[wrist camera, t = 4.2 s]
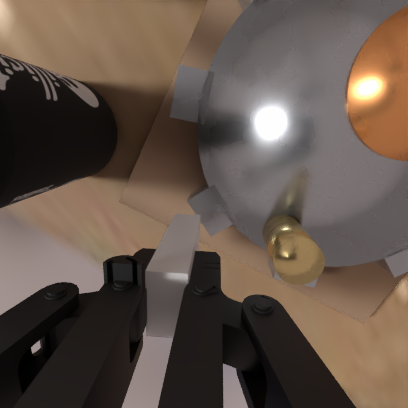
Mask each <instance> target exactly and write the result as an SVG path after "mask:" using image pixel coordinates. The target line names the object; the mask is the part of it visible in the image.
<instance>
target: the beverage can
mask: <svg viewBox="0 0 408 408" xmlns="http://www.w3.org/2000/svg"><path fill="white" fill-rule="evenodd" d="M116 142H117V127H116V122H115V119H114V116H113V113H112V111H111V109H110V107H109V105H108V104H107V102H106V101H105V100H104V98H103V97H102V96H101V95H100V94H99V93H98V92H97V91H96V90H94V89H93V88H92V87H90V86H89V85H87V84H85V83H83V82H81V81H78V80H75V79H72V78H69V77H66V76H63V75H60V74H57V73H55V72H52V71H49V70H46V69H43V68H40V67H37V66H34V65H31V64H28V63H25V62H22V61H19V60H16V59H13V58H11V57H8V56H5V55H2V54H0V208H2V207H5V206H8V205H11V204H13V203H16V202H19V201H22V200H24V199H27V198H30V197H33V196H35V195H38V194H41V193H44V192H46V191H49V190H52V189H55V188H57V187H60V186H63V185H66V184H68V183H71V182H74V181H76V180H79V179H82V178H85V177H87V176H90V175H93V174H95V173H97V172H98V171H100V170H101V169H102V168H103V167H104V166H105V165H106V164H107V163H108V162H109V160H110V159H111V157H112V155H113V153H114V150H115V147H116Z"/></svg>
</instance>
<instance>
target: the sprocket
mask: <svg viewBox="0 0 408 408" xmlns="http://www.w3.org/2000/svg"><path fill="white" fill-rule="evenodd" d="M238 2H239V4H240V6H241V8H242V10H243V12H242V13H241V15H240V16H239V17H238V18H237V20H236V21H235V22H234V24H233V25H232V27H231V28H230V29H229V31H228V32H227V34H226V35H225V37H224V39H223V40H222V42H221V44H220V46H219V48H218V50H217V51H216V53H215V55H214V57H213V60H212V62H211V65H210V67H209V70H208V71H206V70H202V69H198V68H193V67H189V66H185V65H180V64H179V67H178V73H177V79H176V84H175V90H174V96H173V102H172V107H171V113H170V117H172V118H177V119H181V120H185V121H190V122H194V123H198V130H197V139H198V147H199V156H200V160H201V164H202V168H203V172H204V176H205V178H206V181H207V183H206V184H205V185H203V186H202V187H200V188H198V189H197V190H195V191H194V192H192V193H190V195H189V197H188V200H187V202H188V203H189V205H190V206H191V208H192V209H193V211H194V212H195V214H196V215H201V217H200V221H201V223H202V224H203V226H204V227H205V229H206V230H207V232H208V233H209V235H210V236H213V235H215V234H217V233H218V232H220V231H222V230H224V229H225V228H227V227H229V226H231V225H232V224H233V225H234V226H235V227H236V228H237V229H238V230H239V231H240V232H241V233H242V234H243V235H245V236H246V237H247V238H248V239H250V240H251V241H252V242H253V243H255V244H256V245H258V246H260V247H262V248H263V249H265V250H267V251H268V252H269V255H270V259H269V263H268V265H269V268H270V271H271V274H272V276H273V279H278V280H282V281H285V282H287V283H289V284H292V285H304V286H309V287H313V288H314V287H315V285H316V282H317V279H318V277H319V276H320V274H321V273H322V271H323V269H324V266H328V267H340V266H353V265H359V264H364V263H369V262H373V261H376V262H377V263H378V264H379V265H380V266H381V267H382V268H384V269H385V270H386V271H387V272H388V273H389V274H391V275H392V276H393V277H394V278H395V277H397V276H400V275H402V274H404V273H406V272H408V0H238Z"/></svg>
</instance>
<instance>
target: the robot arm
mask: <svg viewBox="0 0 408 408" xmlns="http://www.w3.org/2000/svg"><path fill="white" fill-rule="evenodd" d="M200 217H201V215H188V214H175V215H174V216H173V218H172V220H171V222H170V224H169V226H168V228H167V230H166V232H165V234H164V236H163V238H162V240H161V242H160V243H159V245H158V247H157V249H145V248H143V249H141V250H139V251H138V252H136V253H135V254H134V256H129V255H120V256H115V257H112V258H109V259H107V260H106V261H105V262H103V270H104V285H103V286H102V288H101V289H100V290H99V291H96V292H91V293H83V294H79V288H78V287H77V285H75V284H73V283H67V282H61V283H55V284H52V285H49V286H47V287H45V288H43V289H41V290H39V291H38V292H36V293H34V294H33V295H31V296H30V297H28V298H27V299H25V300H24V301H22V302H20V303H19V304H17V305H16V306H14V307H13V308H11V309H9V310H8V311H6V312H5V313H3V314H2V315H0V408H121V407H122V404H123V402H124V399H125V396H126V393H127V390H128V387H129V385H130V381H131V379H132V376H133V373H134V370H135V367H136V364H137V361H138V359H139V356H140V352H141V350H142V347H143V332H144V329H145V327H146V336H152V337H153V336H154V337H166V338H173V342H172V346H171V351H170V355H169V360H168V364H167V369H166V373H165V378H164V382H163V387H162V391H161V396H160V400H159V405H158V408H223V363H224V364H226V365H229V366H232V367H234V368H236V371H237V376H238V379H239V382H240V385H241V388H242V390H243V394H244V396H245V399H246V402H247V405H248V408H356V407H355V405H354V404H353V403H352V401H351V400H350V399H349V397H348V396H347V394H346V393H345V392H344V390H343V389H342V387H341V386H340V385H339V383H338V382H337V381H336V379H335V378H334V376H333V375H332V374H331V372H330V371H329V370H328V368H327V367H326V365H325V364H324V363H323V361H322V360H321V358H320V357H319V356H318V354H317V353H316V352H315V350H314V349H313V347H312V346H311V345H310V343H309V342H308V341H307V339H306V338H305V336H304V335H303V334H302V332H301V331H300V329H299V328H298V327H297V325H296V324H295V323H294V321H293V320H292V318H291V317H290V316H289V314H288V313H287V312H286V310H285V309H284V307H283V306H282V305H281V304H280V303H279V302H278V301H277V300H275V299H273V298H271V297H269V296H265V295H251V296H248V297H246V298H245V299H244V301H243V303H241V302H238V301H235V300H232V299H230V298H228V297H227V296H226V295H224V294H223V292H222V290H221V269H220V268H221V266H220V256H219V255H218V254H217V253H216V252H205V251H199V241H200ZM39 340H40V344H41V348H40V349H39V350H38V351H37V352H35V353H33V354H32V351H31V347H32V346H33V345H34V344H35V343H36V342H38V341H39Z"/></svg>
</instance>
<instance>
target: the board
mask: <svg viewBox="0 0 408 408" xmlns="http://www.w3.org/2000/svg"><path fill="white" fill-rule="evenodd" d="M242 12H243V10H242V8H241V6H240V4H239V2H238V0H207V3H206V5H205V7H204V10H203V12H202V14H201V16H200V19H199V21H198V23H197V25H196V28H195V30H194V32H193V35H192V37H191V39H190V41H189V44H188V46H187V48H186V50H185V53H184V55H183V57H182V60H181V62H180V65H185V66H189V67H193V68H198V69H202V70H206V71H208V70H209V67H210V65H211V62H212V60H213V57H214V55H215V53H216V51H217V50H218V48H219V46H220V44H221V42H222V40H223V39H224V37H225V35H226V34H227V32H228V31H229V29H230V28H231V27H232V25H233V24H234V22H235V21H236V20H237V18H238V17H239V16H240V15H241V13H242ZM178 67H179V66H178ZM177 73H178V69H177V71H176V73H175V75H174V78H173V80H172V82H171V85H170V87H169V89H168V91H167V94H166V96H165V98H164V100H163V103H162V105H161V107H160V110H159V112H158V114H157V116H156V119H155V121H154V123H153V125H152V128H151V130H150V132H149V135H148V137H147V139H146V141H145V144H144V146H143V148H142V150H141V153H140V155H139V157H138V160H137V162H136V164H135V166H134V169H133V171H132V173H131V175H130V178H129V180H128V182H127V185H126V187H125V189H124V191H123V194H122V196H121V198H120V200H119V202H121V203H123V204H125V205H127V206H129V207H131V208H133V209H135V210H137V211H139V212H141V213H143V214H145V215H147V216H149V217H151V218H153V219H155V220H157V221H159V222H161V223H163V224H165V225H167V226H169V224H170V222H171V220H172V218H173V216H174V215H175V214H188V215H196V214H195V212H194V211H193V209H192V208H191V206H190V205H189V203H188V202H187V200H188V197H189V195H190V193H192V192H194V191H195V190H197V189H198V188H200V187H202V186H203V185H205V184H206V183H207V181H206V178H205V176H204V172H203V168H202V164H201V160H200V156H199V147H198V139H197V130H198V123H194V122H190V121H185V120H181V119H177V118H172V117H170V113H171V107H172V102H173V96H174V90H175V84H176V79H177ZM199 242H201V243H203V244H205V245H207V246H209V247H211V248H213V249H215V250H217V251H219V252H221V253H223V254H225V255H227V256H229V257H231V258H233V259H235V260H237V261H239V262H241V263H243V264H245V265H247V266H249V267H251V268H253V269H255V270H257V271H259V272H261V273H263V274H265V275H267V276H269V277H271V278H273V276H272V274H271V271H270V268H269V265H268V263H269V259H270V255H269V252H268V251H267V250H265V249H263V248H262V247H260V246H258V245H256V244H255V243H253V242H252V241H251V240H250V239H248V238H247V237H246V236H245V235H243V234H242V233H241V232H240V231H239V230H238V229H237V228H236V227H235V226H234V225H233V224H232V225H231V226H229V227H227V228H225V229H224V230H222V231H220V232H218V233H217V234H215V235H213V236H210V235H209V233H208V232H207V230H206V229H205V227H204V226H203V224H202V223H201V221H200V241H199ZM406 273H407V272H406ZM406 273H404V274H402V275H400V276H397V277H395V278H394V277H393V276H392V275H391V274H389V273H388V272H387V271H386V270H385V269H384V268H382V267H381V266H380V265H379V264H378V263H377V262H376V261H373V262H369V263H364V264H359V265H353V266H340V267H328V266H324V269H323V271H322V273H321V274H320V276H319V277H318V279H317V282H316V285H315V287H314V288H313V287H309V286H304V285H292V284H289V283H287V282H285V281H282V280H278V279H275V280H277V281H279V282H281V283H283V284H285V285H287V286H289V287H291V288H293V289H295V290H297V291H299V292H301V293H303V294H305V295H307V296H309V297H311V298H313V299H315V300H317V301H319V302H321V303H323V304H325V305H327V306H329V307H331V308H333V309H335V310H337V311H339V312H341V313H343V314H345V315H347V316H349V317H351V318H353V319H355V320H357V321H359V322H361V323H363V324H364V323H365V322H366V321H367V319H368V318H369V317H370V316H371V315H372V313H373V312H374V311H375V310H376V309H377V307H378V306H379V305H380V304H381V303H382V301H383V300H384V299H385V298H386V297H387V295H388V294H389V293H390V292H391V291H392V290H393V288H394V287H395V286H396V285H397V284H398V282H399V281H400V280H401V279H402V278H403V276H404V275H405V274H406Z"/></svg>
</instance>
